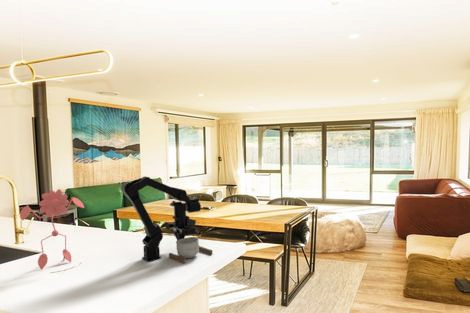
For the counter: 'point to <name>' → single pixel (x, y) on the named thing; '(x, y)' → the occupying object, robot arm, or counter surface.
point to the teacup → (187, 247)
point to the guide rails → (184, 258)
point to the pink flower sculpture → (52, 206)
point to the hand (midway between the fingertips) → (181, 245)
